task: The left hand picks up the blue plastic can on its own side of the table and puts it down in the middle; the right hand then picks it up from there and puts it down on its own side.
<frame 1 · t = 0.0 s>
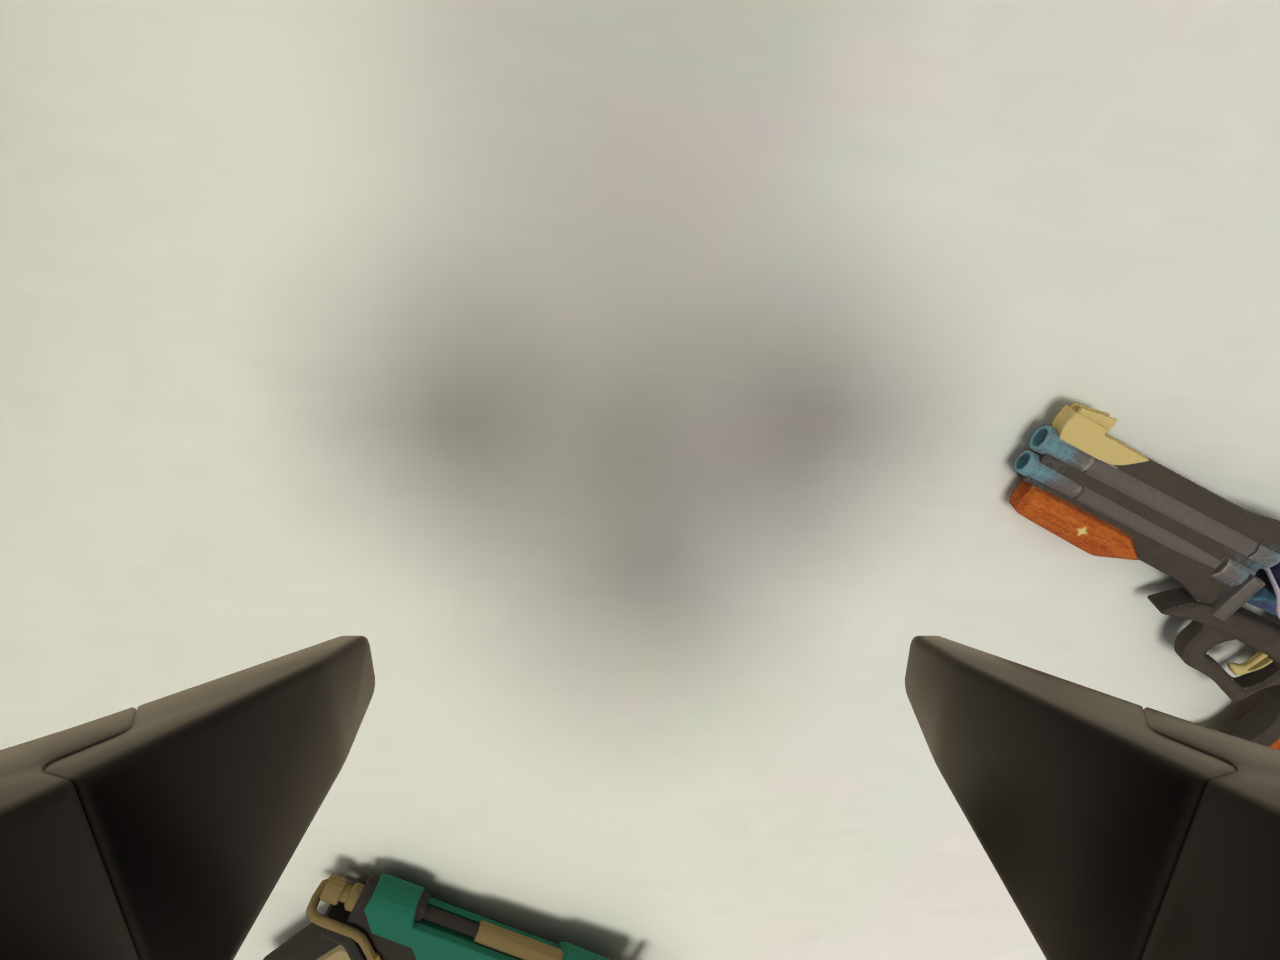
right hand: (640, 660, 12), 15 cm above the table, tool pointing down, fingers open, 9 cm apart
toy gun: (1166, 600, 28), on the table
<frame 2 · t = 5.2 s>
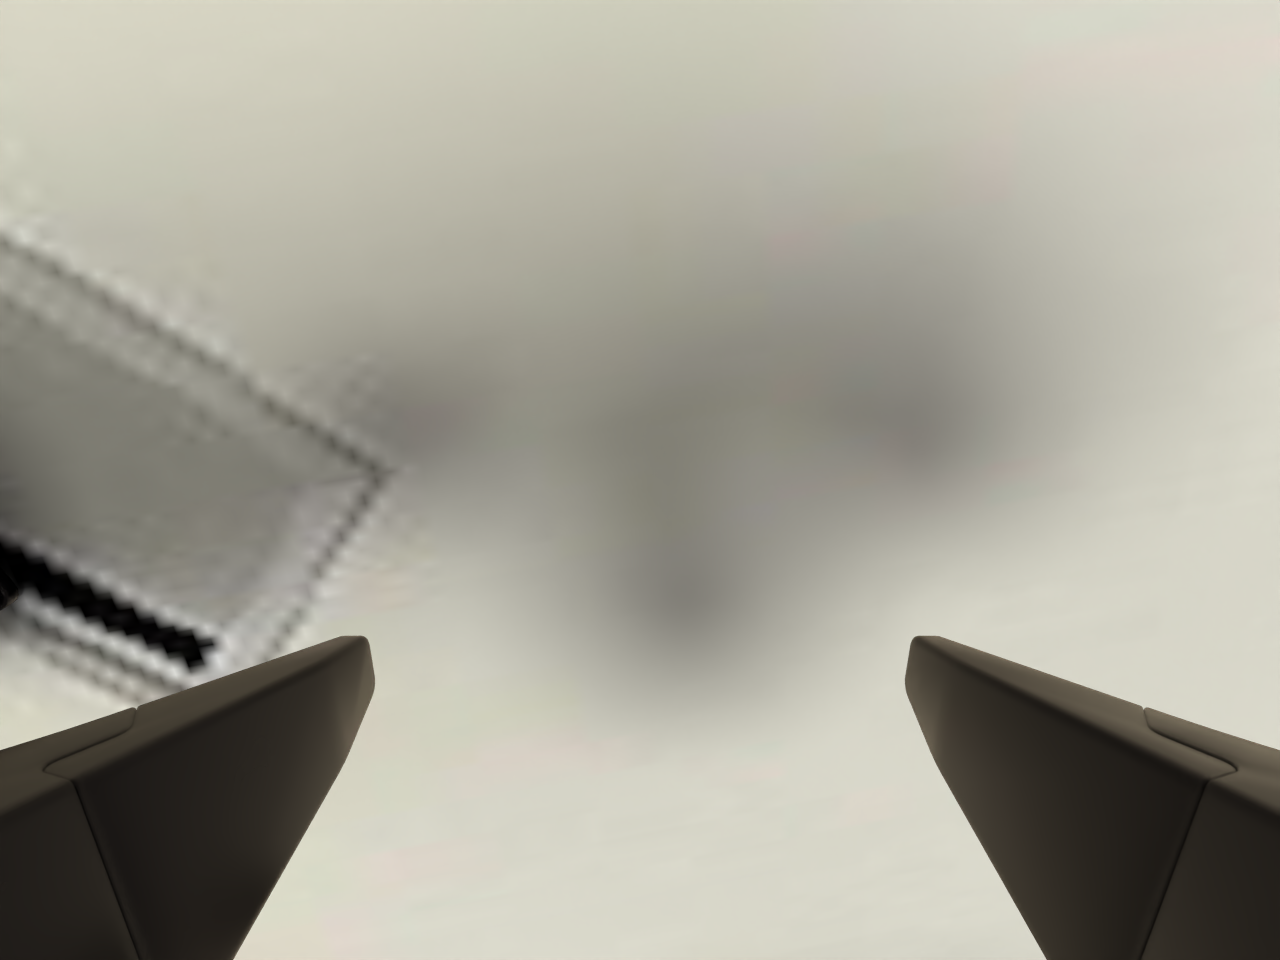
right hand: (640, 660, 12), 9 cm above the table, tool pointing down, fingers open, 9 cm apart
when the left hand's fingers open (3 cm above the table, at t = 13.5 s): can stays where it is, on the table.
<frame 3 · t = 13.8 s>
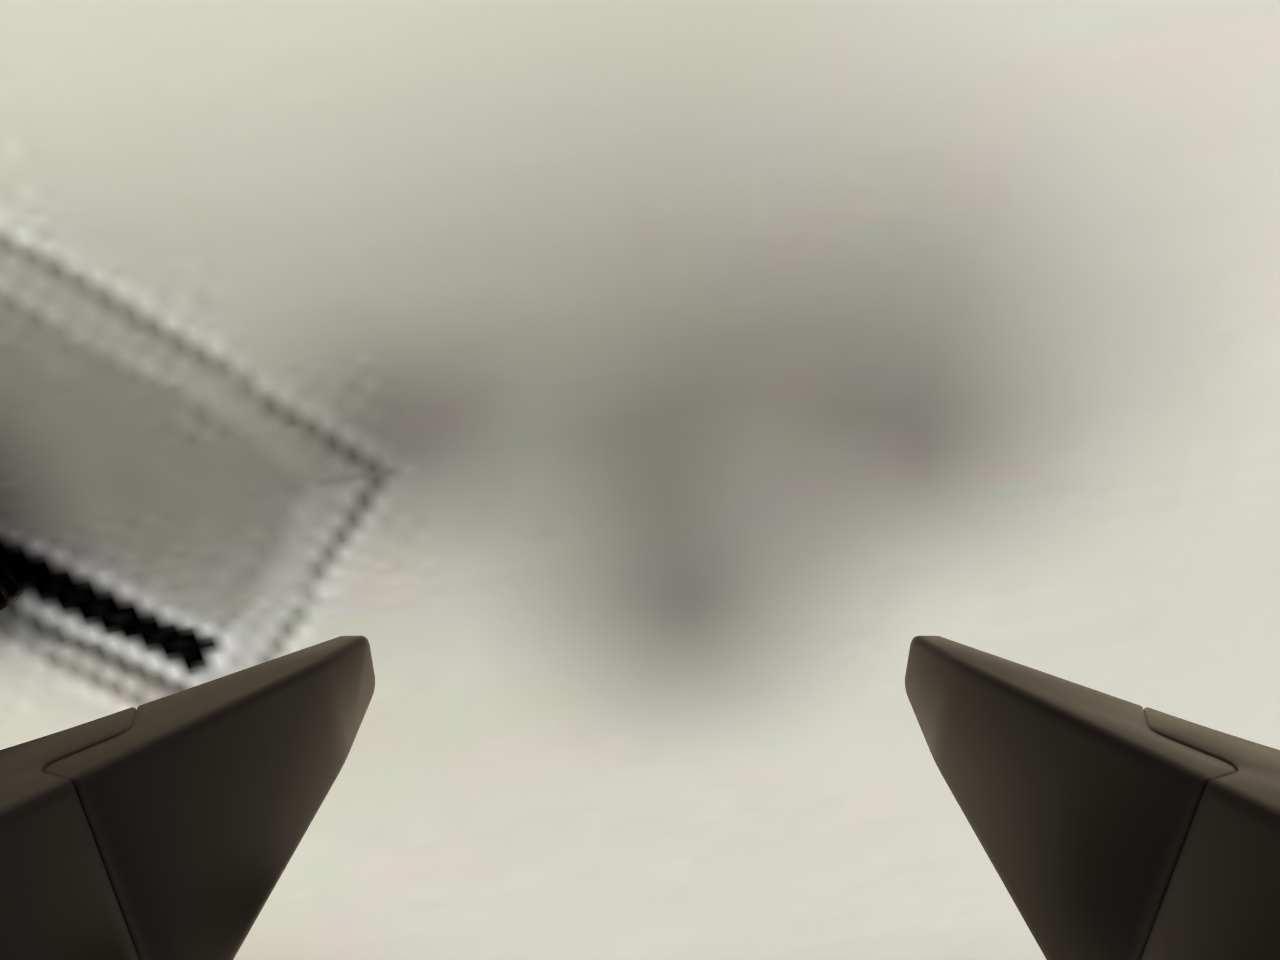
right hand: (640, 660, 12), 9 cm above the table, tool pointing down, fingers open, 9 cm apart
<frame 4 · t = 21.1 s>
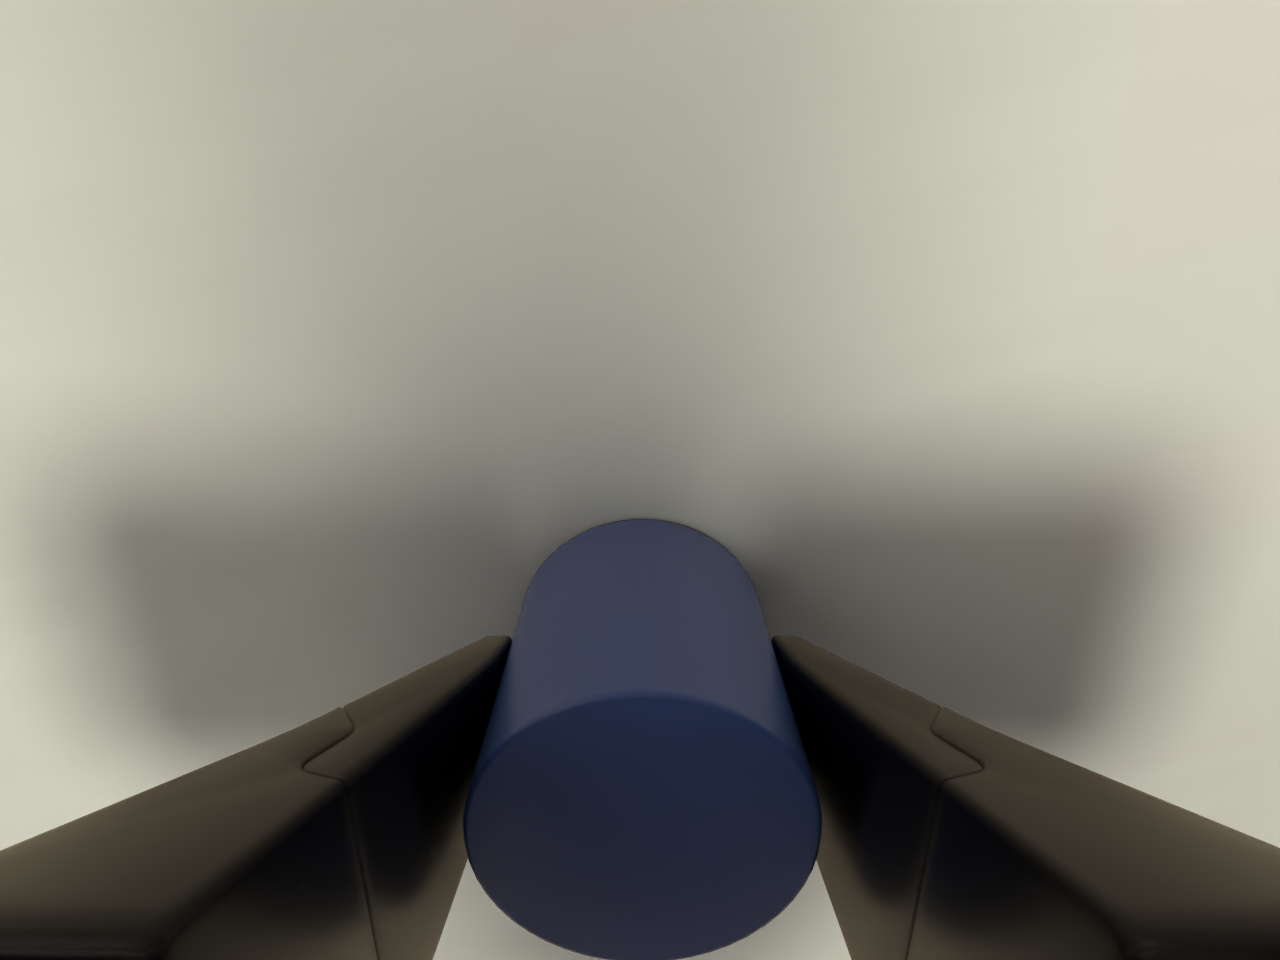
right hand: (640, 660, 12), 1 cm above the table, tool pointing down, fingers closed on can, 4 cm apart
can: (641, 626, 13), on the table, touching right hand
when the right hand's fingers open (2 cm above the table, at t = 28.7 s): can stays where it is, on the table.
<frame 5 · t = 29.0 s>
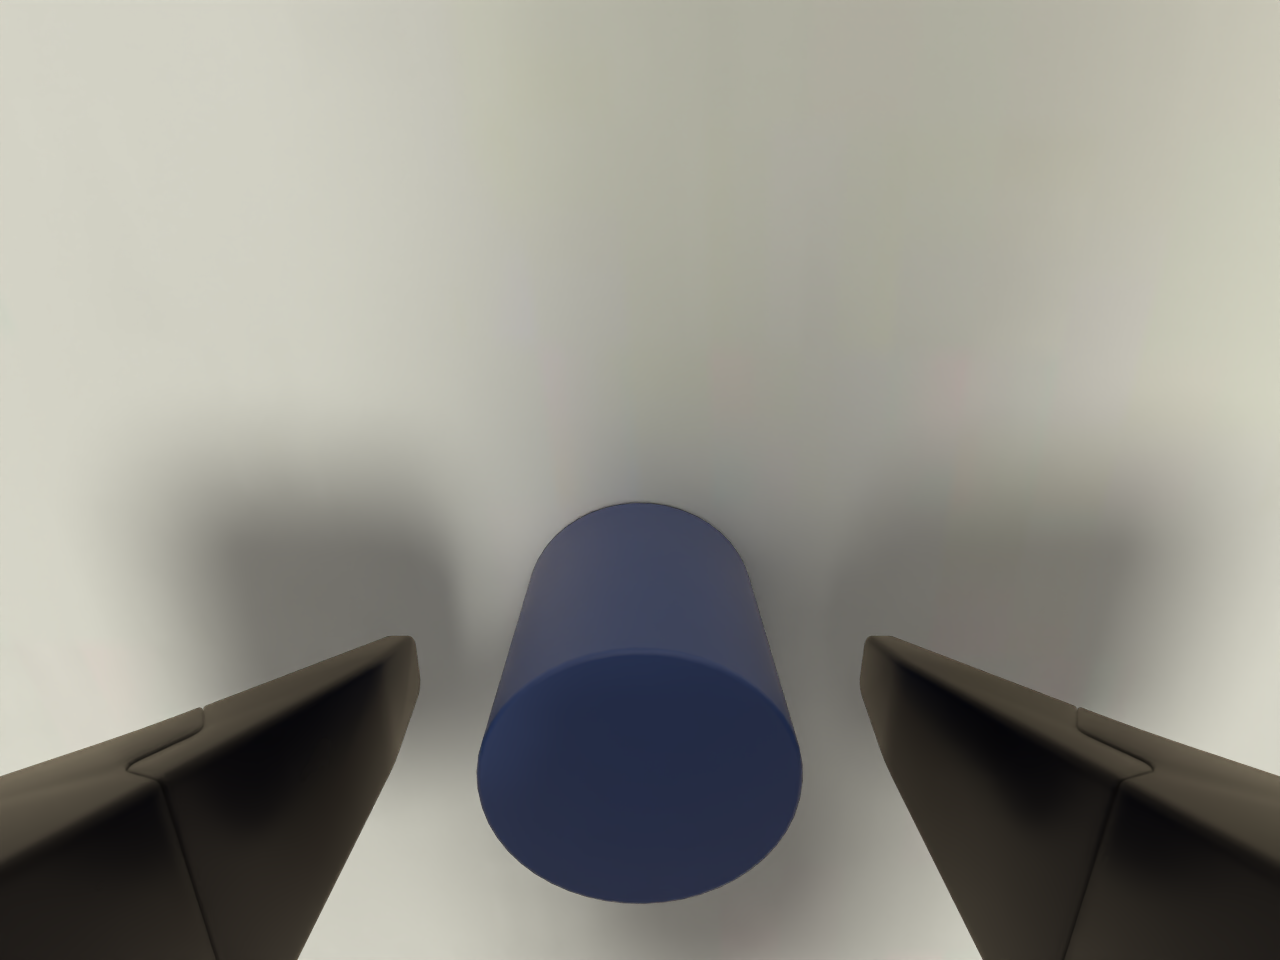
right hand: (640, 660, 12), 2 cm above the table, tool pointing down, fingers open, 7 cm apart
can: (639, 604, 13), on the table
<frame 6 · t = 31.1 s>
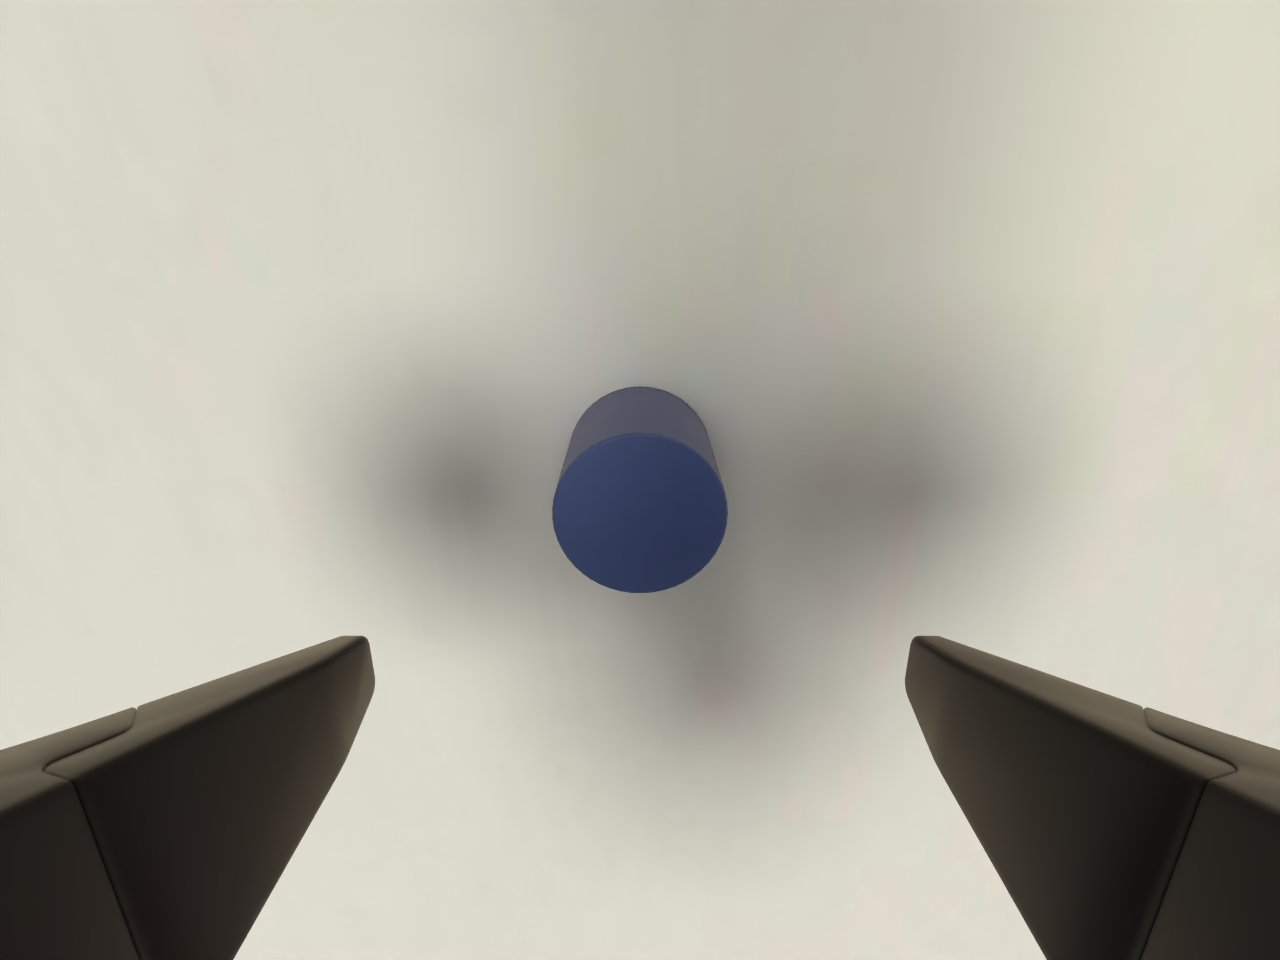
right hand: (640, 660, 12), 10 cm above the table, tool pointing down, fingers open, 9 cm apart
can: (640, 455, 21), on the table
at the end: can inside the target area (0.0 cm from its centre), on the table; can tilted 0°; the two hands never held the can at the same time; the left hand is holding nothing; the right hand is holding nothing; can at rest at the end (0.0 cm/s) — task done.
